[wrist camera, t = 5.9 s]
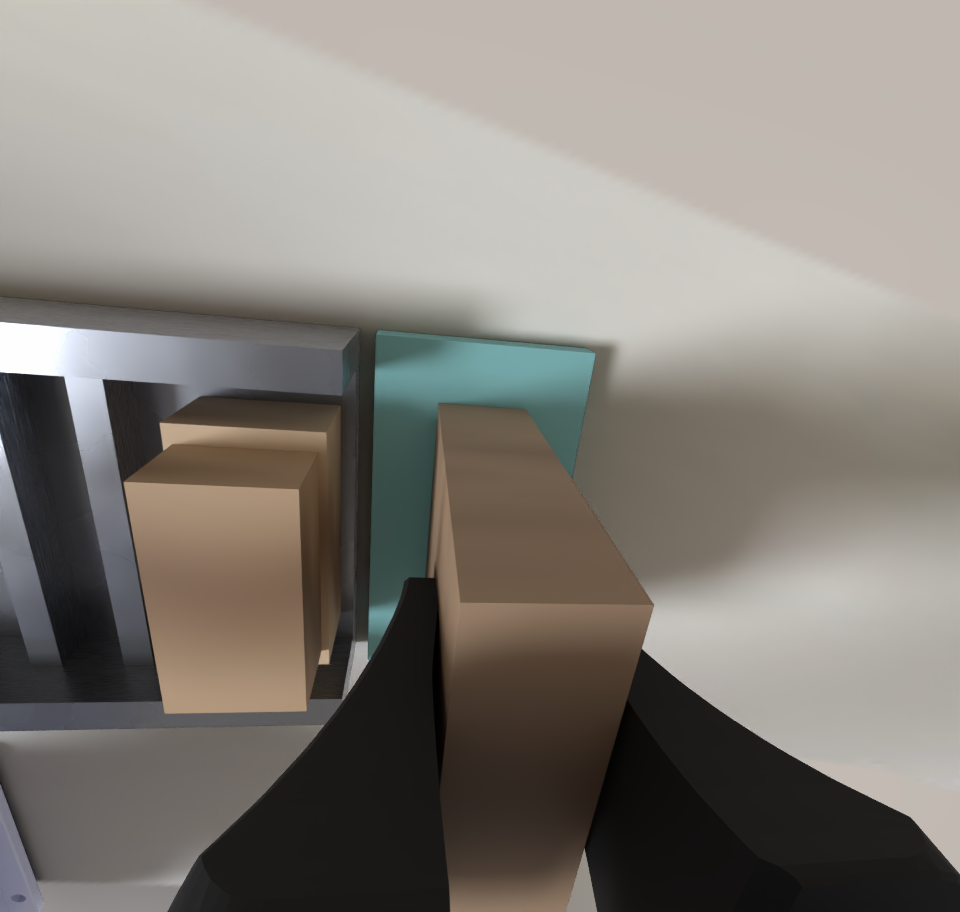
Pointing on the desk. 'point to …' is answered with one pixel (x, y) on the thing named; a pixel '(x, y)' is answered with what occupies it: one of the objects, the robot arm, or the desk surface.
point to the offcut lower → (280, 431)
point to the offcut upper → (230, 575)
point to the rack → (102, 499)
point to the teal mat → (412, 432)
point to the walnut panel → (522, 659)
